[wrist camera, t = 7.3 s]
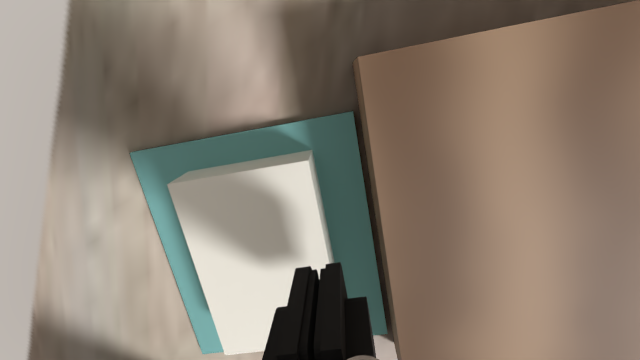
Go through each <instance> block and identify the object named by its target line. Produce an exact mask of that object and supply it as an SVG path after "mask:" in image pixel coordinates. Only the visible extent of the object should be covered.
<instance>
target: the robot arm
mask: <svg viewBox="0 0 640 360" xmlns="http://www.w3.org/2000/svg"><path fill="white" fill-rule="evenodd" d="M262 360H379V359H377V358H376V354H375V346H374V339H373V332H372V326H371V319H370V313H369V308H368V302H367V297H366V296H365V297H357V298H349V299H348V296H347V291H346V286H345V281H344V275H343V270H342V265H341V262H337V263H330V264H326V267H325V268H323V269H321V270H320V280H319V276H318V272H317V270H316V269H315V270H312V268H311V266H308V267H300V268H296V269H295V272H294V277H293V281H292V286H291V290H290V295H289V299H288V303H287V306H284V307H278V308H276V311H275V314H274V318H273V321H272V325H271V329H270V332H269V336H268V340H267V344H266V347H265V351H264V355H263V358H262Z"/></svg>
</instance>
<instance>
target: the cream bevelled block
mask: <svg viewBox="0 0 640 360" xmlns="http://www.w3.org/2000/svg"><path fill="white" fill-rule="evenodd" d="M167 186H168V189H169V192H170V195H171V198H172V201H173V203H174V206H175V209H176V212H177V215H178V218H179V221H180V224H181V227H182V230H183V233H184V236H185V239H186V242H187V245H188V248H189V250H190V253H191V256H192V259H193V262H194V265H195V268H196V271H197V274H198V277H199V280H200V283H201V286H202V289H203V292H204V295H205V297H206V300H207V303H208V306H209V309H210V312H211V315H212V318H213V321H214V324H215V327H216V330H217V333H218V336H219V339H220V342H221V345H222V347H223V350H224V353H225V355H232V354H241V353H250V352H260V351H265V347H266V344H267V340H268V336H269V332H270V329H271V325H272V321H273V318H274V314H275V311H276V308H278V307H284V306H287V303H288V299H289V295H290V290H291V286H292V281H293V277H294V272H295V269H296V268H300V267H308V266H311V268H312V270H315V269H316V270H317V272H318V276H319V280H320V270H321V269H323V268H325V267H326V264H330V263H335V262H334V257H333V252H332V247H331V242H330V237H329V232H328V227H327V222H326V217H325V212H324V206H323V201H322V196H321V191H320V186H319V181H318V176H317V171H316V166H315V161H314V156H313V151H312V150H308V151H302V152H297V153H291V154H285V155H279V156H274V157H268V158H262V159H257V160H251V161H245V162H239V163H234V164H228V165H222V166H216V167H211V168H205V169H199V170H193V171H188V172H187V173H185V174H183V175H182V176H180V177H178V178H177V179H175V180H174V181H172V182H170V183H169V184H167Z"/></svg>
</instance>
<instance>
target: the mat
mask: <svg viewBox="0 0 640 360" xmlns="http://www.w3.org/2000/svg"><path fill="white" fill-rule="evenodd" d="M308 150H312V151H313V156H314V161H315V166H316V171H317V176H318V181H319V186H320V191H321V196H322V201H323V206H324V212H325V217H326V222H327V227H328V232H329V237H330V242H331V247H332V252H333V257H334V262H335V263H337V262H341V265H342V270H343V275H344V281H345V286H346V291H347V296H348V299H349V298H357V297H365V296H366V297H367V302H368V308H369V313H370V319H371V326H372V332H373V335H382V334H387V327H386V321H385V314H384V308H383V301H382V295H381V289H380V282H379V276H378V269H377V263H376V256H375V250H374V243H373V237H372V231H371V224H370V218H369V211H368V205H367V198H366V192H365V186H364V179H363V173H362V166H361V160H360V153H359V147H358V140H357V134H356V128H355V121H354V115H353V111H351V112H346V113H340V114H335V115H329V116H324V117H318V118H313V119H308V120H302V121H297V122H291V123H286V124H280V125H275V126H270V127H264V128H259V129H253V130H248V131H242V132H237V133H232V134H226V135H221V136H215V137H210V138H204V139H199V140H194V141H188V142H183V143H177V144H172V145H167V146H161V147H156V148H150V149H145V150H139V151H134V152H131V153H130V156H131V159H132V161H133V164H134V167H135V170H136V172H137V175H138V178H139V181H140V183H141V186H142V189H143V191H144V194H145V197H146V200H147V202H148V205H149V208H150V211H151V213H152V216H153V219H154V222H155V224H156V227H157V230H158V233H159V235H160V238H161V241H162V244H163V246H164V249H165V252H166V255H167V257H168V260H169V263H170V266H171V268H172V271H173V274H174V277H175V279H176V282H177V285H178V288H179V290H180V293H181V296H182V299H183V301H184V304H185V307H186V309H187V312H188V315H189V318H190V320H191V323H192V326H193V329H194V331H195V334H196V337H197V340H198V342H199V345H200V348H201V351H202V353H203V354H208V353H217V352H224V350H223V347H222V345H221V342H220V339H219V336H218V333H217V330H216V327H215V324H214V321H213V318H212V315H211V312H210V309H209V306H208V303H207V300H206V297H205V295H204V292H203V289H202V286H201V283H200V280H199V277H198V274H197V271H196V268H195V265H194V262H193V259H192V256H191V253H190V250H189V248H188V245H187V242H186V239H185V236H184V233H183V230H182V227H181V224H180V221H179V218H178V215H177V212H176V209H175V206H174V203H173V201H172V198H171V195H170V192H169V189H168V186H167V184H169V183H170V182H172V181H174V180H175V179H177V178H178V177H180V176H182V175H183V174H185V173H187V172H188V171H193V170H199V169H205V168H211V167H216V166H222V165H228V164H234V163H239V162H245V161H251V160H257V159H262V158H268V157H274V156H279V155H285V154H291V153H297V152H302V151H308Z"/></svg>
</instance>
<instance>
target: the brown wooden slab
mask: <svg viewBox="0 0 640 360" xmlns="http://www.w3.org/2000/svg"><path fill="white" fill-rule="evenodd" d="M353 70H354V77H355V83H356V90H357V97H358V103H359V110H360V117H361V123H362V130H363V137H364V144H365V150H366V157H367V164H368V170H369V177H370V184H371V190H372V197H373V204H374V210H375V217H376V224H377V231H378V237H379V244H380V251H381V257H382V264H383V271H384V277H385V284H386V291H387V297H388V304H389V311H390V318H391V324H392V331H393V338H394V344H395V349H396V354H397V358H398V360H640V0H636V1H631V2H626V3H621V4H616V5H611V6H606V7H601V8H597V9H592V10H587V11H582V12H577V13H572V14H567V15H562V16H557V17H552V18H547V19H542V20H537V21H532V22H527V23H522V24H517V25H512V26H507V27H502V28H498V29H493V30H488V31H483V32H478V33H473V34H468V35H463V36H458V37H453V38H448V39H443V40H438V41H433V42H428V43H423V44H418V45H413V46H408V47H403V48H399V49H394V50H389V51H384V52H379V53H374V54H369V55H364V56H359V57H357V58H356V59H355V61H354V62H353Z"/></svg>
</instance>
